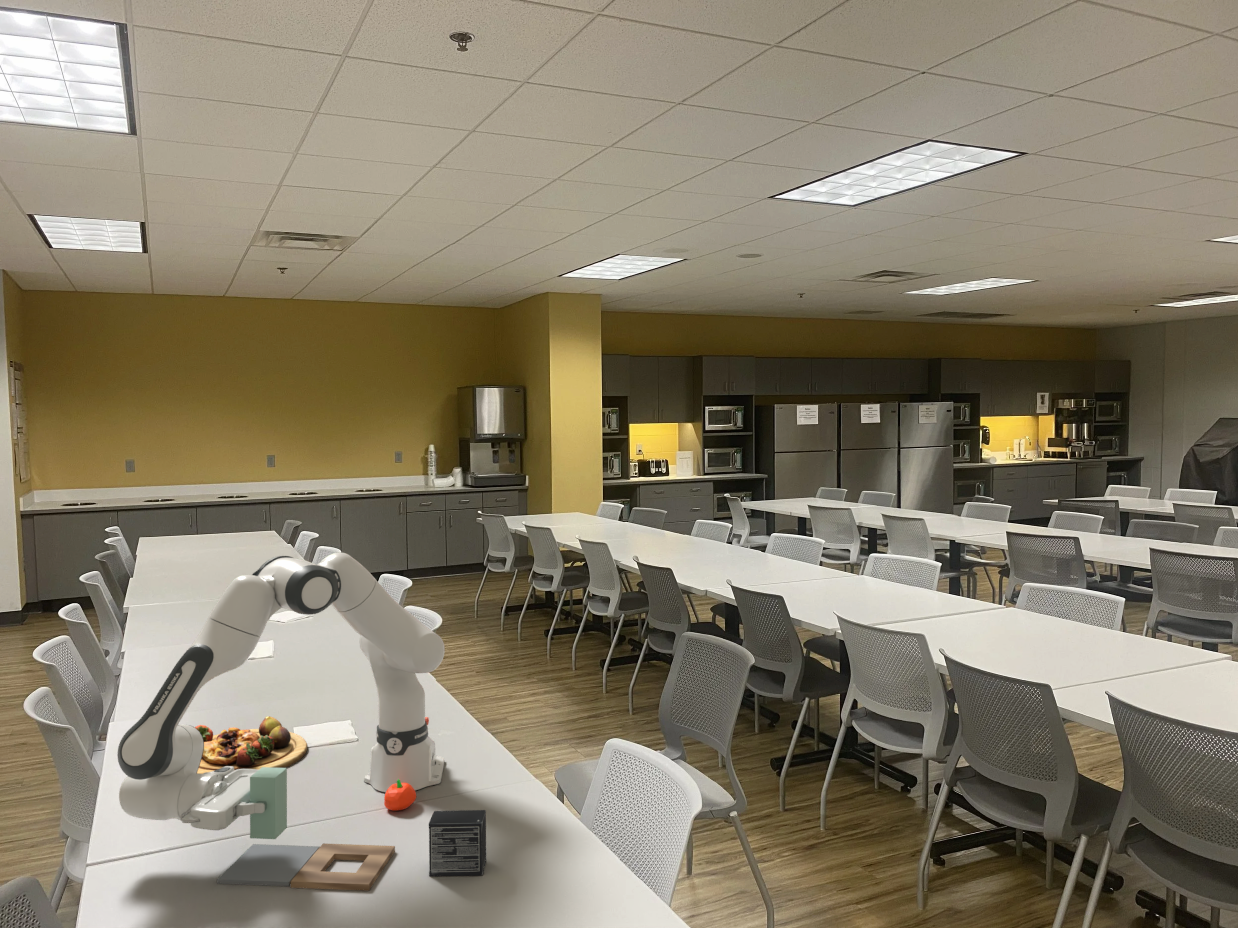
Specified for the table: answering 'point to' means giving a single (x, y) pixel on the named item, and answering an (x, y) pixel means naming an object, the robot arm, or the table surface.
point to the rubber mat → (268, 865)
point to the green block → (269, 802)
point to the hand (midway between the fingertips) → (273, 800)
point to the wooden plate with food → (251, 747)
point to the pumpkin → (399, 796)
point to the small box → (457, 843)
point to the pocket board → (361, 880)
